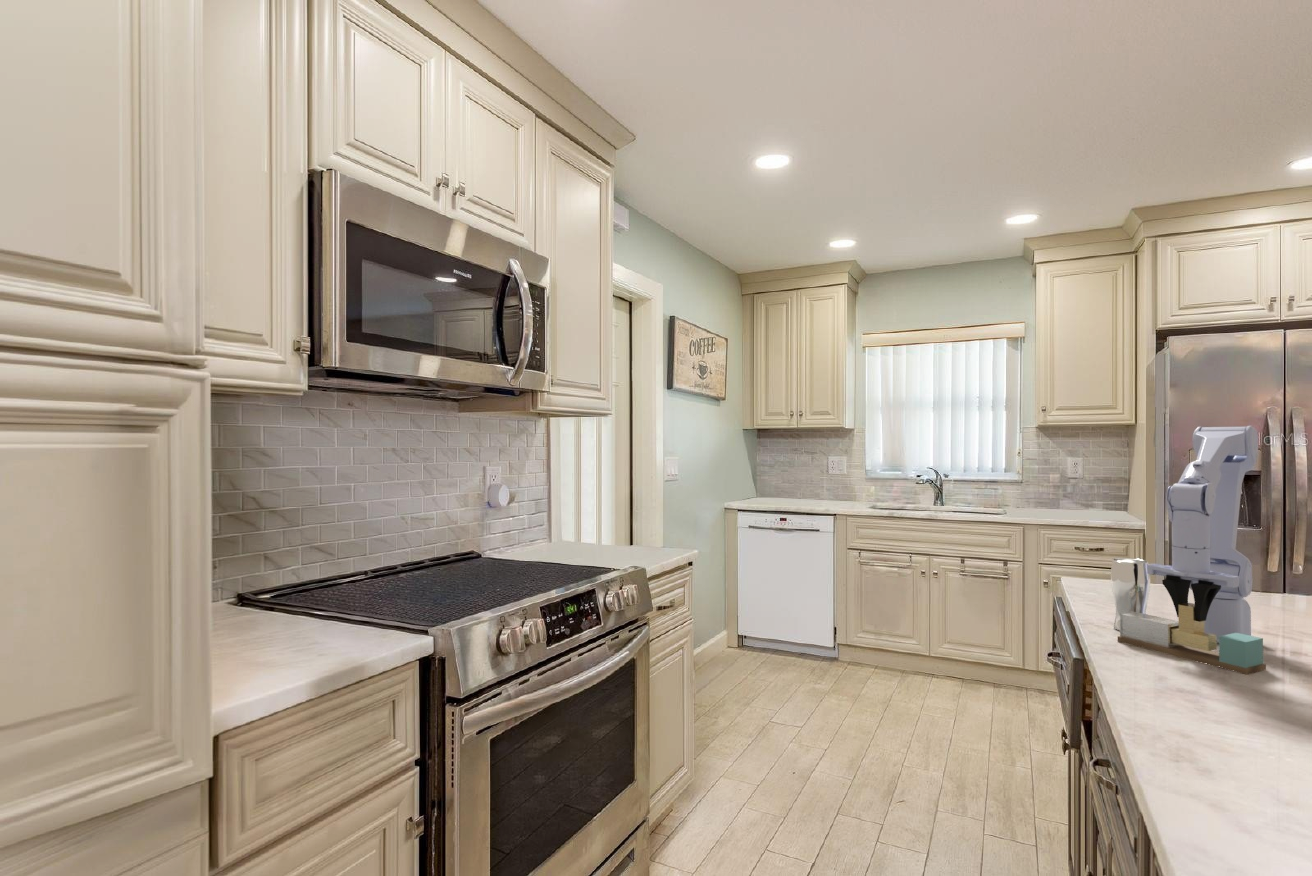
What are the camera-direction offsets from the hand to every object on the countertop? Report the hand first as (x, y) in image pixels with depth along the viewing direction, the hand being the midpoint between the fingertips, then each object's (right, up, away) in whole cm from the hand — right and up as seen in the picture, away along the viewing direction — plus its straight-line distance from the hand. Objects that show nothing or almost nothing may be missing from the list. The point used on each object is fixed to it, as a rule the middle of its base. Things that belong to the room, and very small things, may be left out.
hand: (1191, 618), depth 130 cm
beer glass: (+1, -7, +18) cm, 19 cm away
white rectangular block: (-3, -6, +7) cm, 10 cm away
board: (0, -7, +1) cm, 7 cm away
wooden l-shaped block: (-1, -5, +3) cm, 6 cm away
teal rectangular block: (+3, -6, -7) cm, 10 cm away
